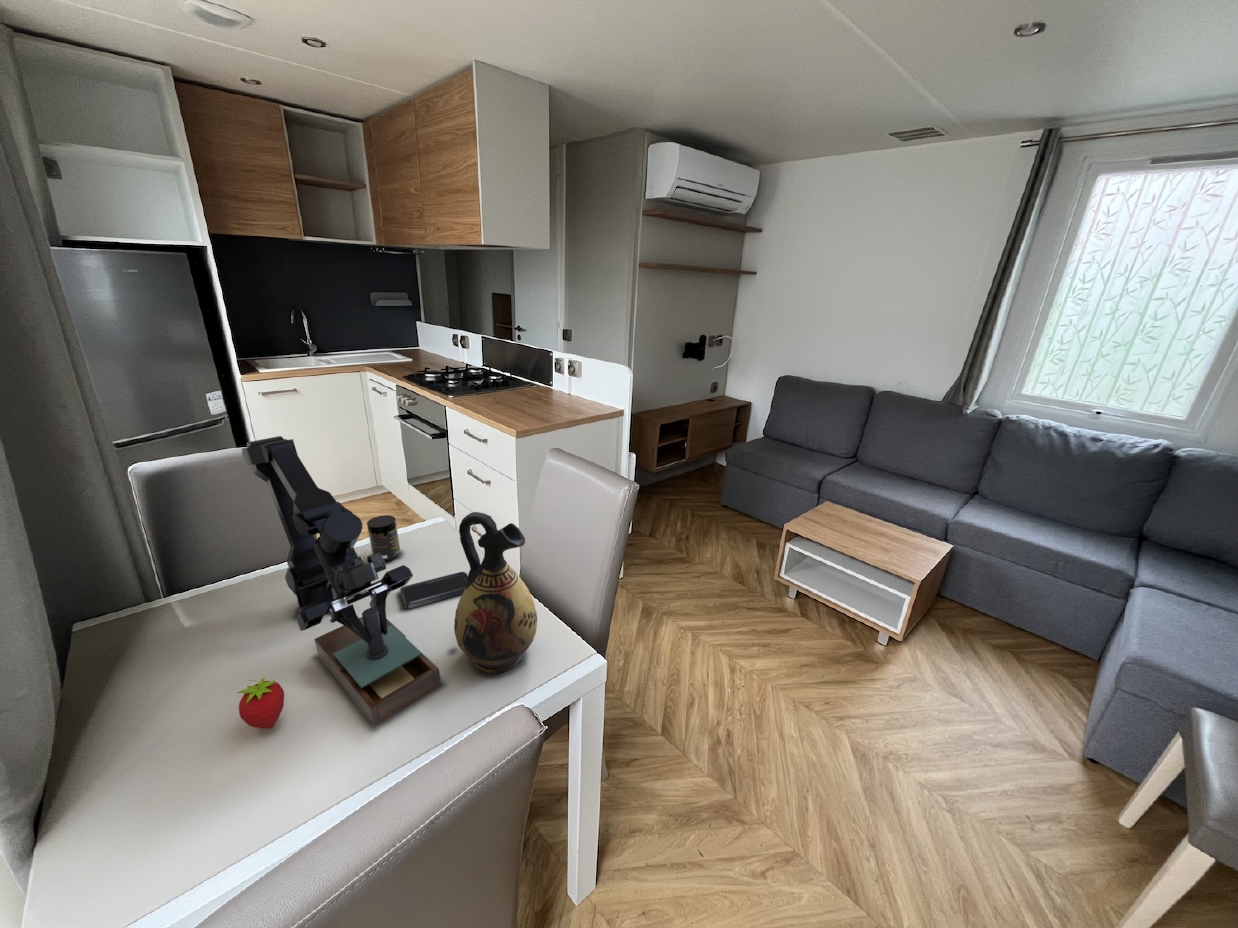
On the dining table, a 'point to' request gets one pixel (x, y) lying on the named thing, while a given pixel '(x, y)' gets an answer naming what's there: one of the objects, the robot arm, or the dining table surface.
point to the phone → (433, 590)
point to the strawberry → (261, 704)
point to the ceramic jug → (493, 600)
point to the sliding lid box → (386, 691)
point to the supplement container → (384, 537)
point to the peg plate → (376, 651)
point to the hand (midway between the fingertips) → (377, 638)
